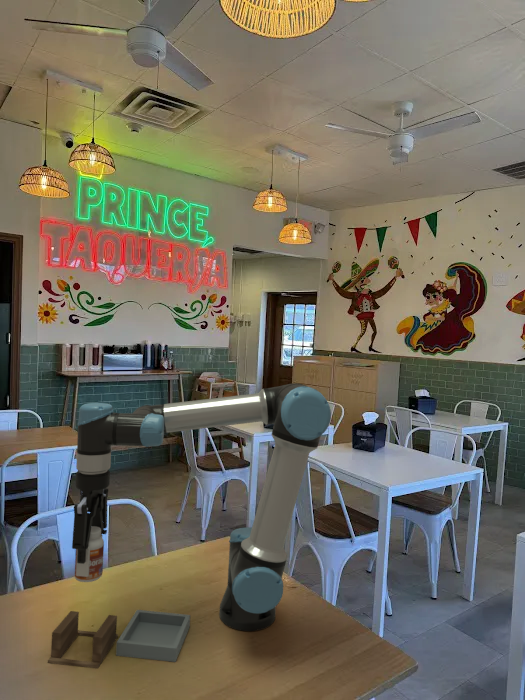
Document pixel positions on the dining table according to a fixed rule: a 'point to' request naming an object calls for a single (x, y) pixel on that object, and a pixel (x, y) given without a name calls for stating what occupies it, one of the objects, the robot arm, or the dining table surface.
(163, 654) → the tray
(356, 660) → the dining table surface
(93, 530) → the pill bottle
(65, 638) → the wooden open frame
